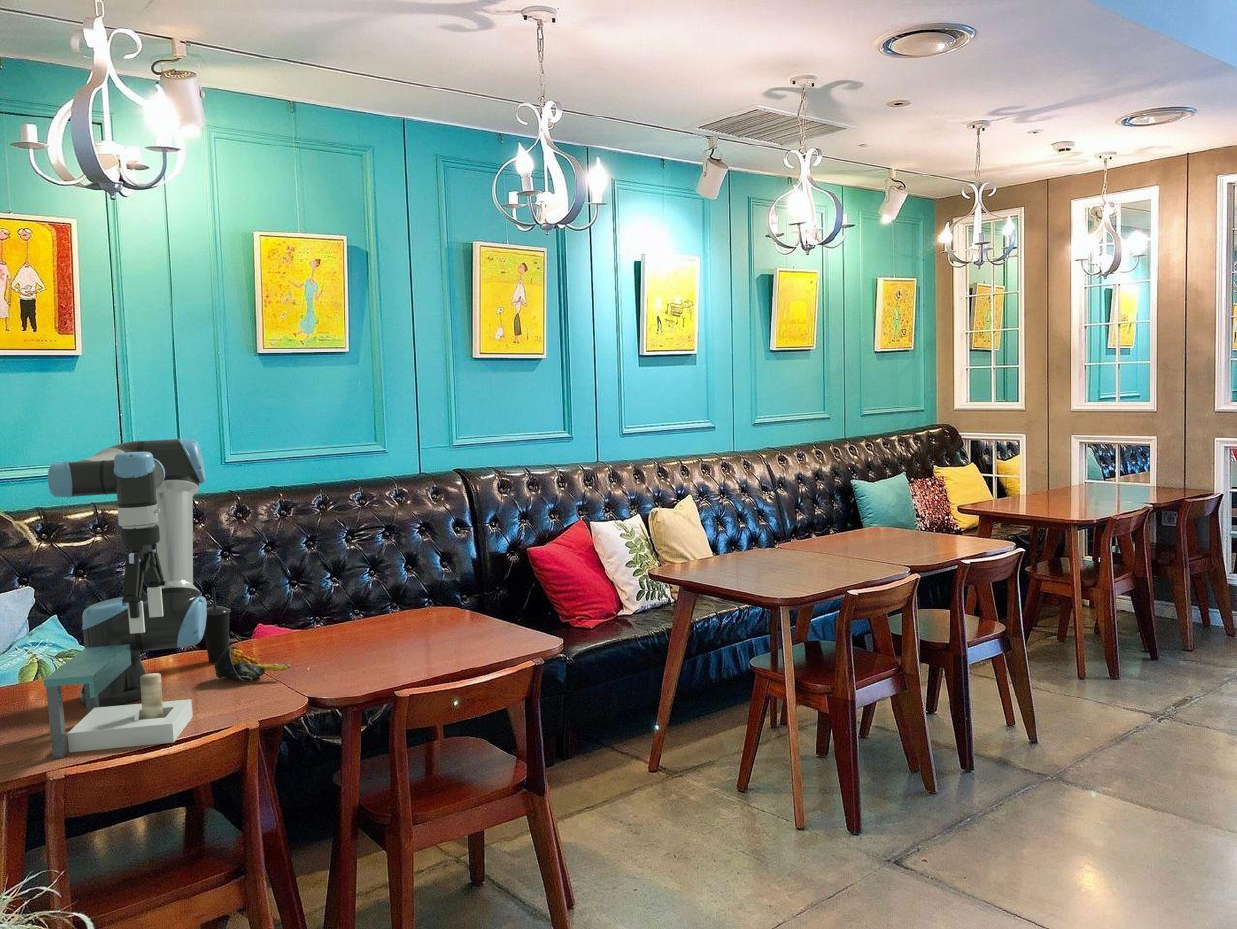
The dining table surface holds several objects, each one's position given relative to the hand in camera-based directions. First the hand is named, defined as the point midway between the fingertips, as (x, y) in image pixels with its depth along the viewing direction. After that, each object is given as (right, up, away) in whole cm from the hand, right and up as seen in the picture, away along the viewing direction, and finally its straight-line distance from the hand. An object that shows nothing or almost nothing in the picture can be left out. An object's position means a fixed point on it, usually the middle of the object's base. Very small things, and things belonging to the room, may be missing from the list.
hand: (147, 624), depth 209 cm
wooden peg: (+1, -23, +1) cm, 23 cm away
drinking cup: (-7, -19, +54) cm, 58 cm away
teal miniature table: (-10, -24, -1) cm, 26 cm away
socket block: (-3, -23, 0) cm, 23 cm away
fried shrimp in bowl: (+8, -20, +37) cm, 43 cm away
